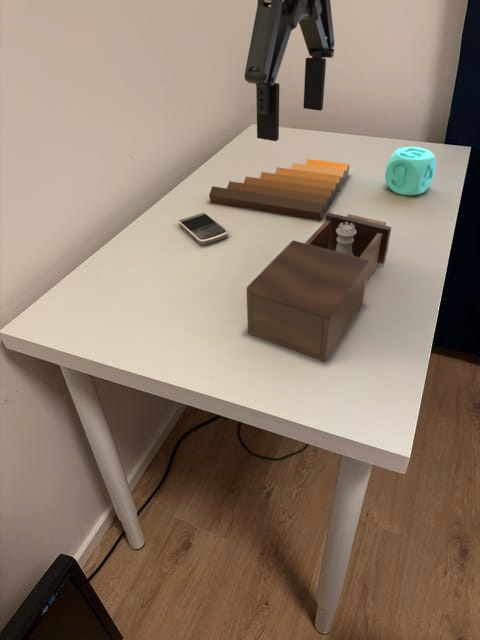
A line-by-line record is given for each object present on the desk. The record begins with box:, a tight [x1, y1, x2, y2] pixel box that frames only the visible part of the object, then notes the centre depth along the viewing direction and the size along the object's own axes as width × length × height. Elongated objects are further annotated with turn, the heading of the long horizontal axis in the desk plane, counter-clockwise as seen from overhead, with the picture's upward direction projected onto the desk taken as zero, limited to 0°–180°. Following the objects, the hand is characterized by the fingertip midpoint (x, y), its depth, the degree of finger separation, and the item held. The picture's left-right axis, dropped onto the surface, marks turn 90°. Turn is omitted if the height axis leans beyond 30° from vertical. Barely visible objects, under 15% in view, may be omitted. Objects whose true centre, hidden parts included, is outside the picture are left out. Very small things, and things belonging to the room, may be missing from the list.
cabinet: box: [246, 239, 369, 363], centre depth 73 cm, size 15×13×9 cm
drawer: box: [304, 212, 392, 282], centre depth 83 cm, size 18×11×7 cm, turn 149°
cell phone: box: [177, 212, 229, 246], centre depth 97 cm, size 6×11×1 cm, turn 31°
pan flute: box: [208, 158, 351, 222], centre depth 110 cm, size 25×3×25 cm
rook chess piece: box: [335, 222, 356, 256], centre depth 80 cm, size 4×4×8 cm
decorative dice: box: [384, 146, 437, 196], centre depth 107 cm, size 8×8×8 cm
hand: (291, 123), depth 66 cm, fingers open, 13 cm apart
